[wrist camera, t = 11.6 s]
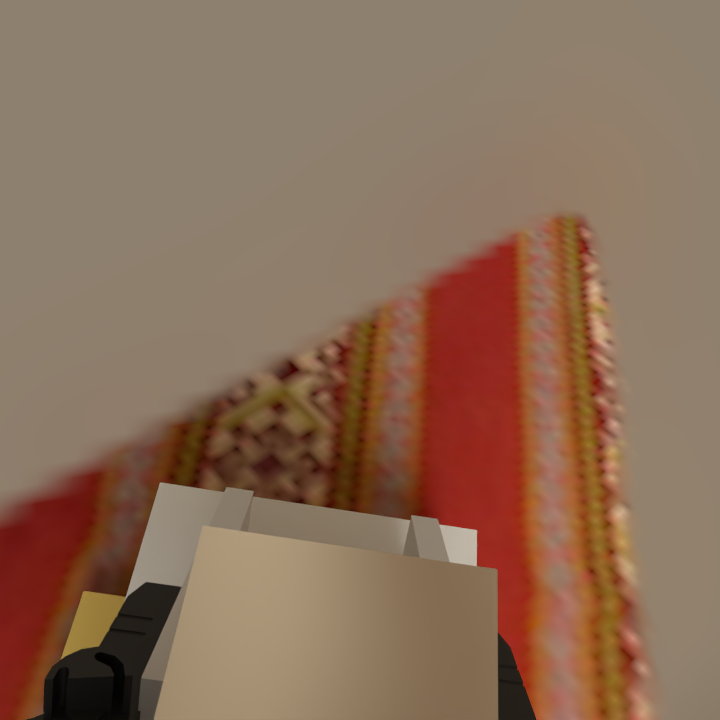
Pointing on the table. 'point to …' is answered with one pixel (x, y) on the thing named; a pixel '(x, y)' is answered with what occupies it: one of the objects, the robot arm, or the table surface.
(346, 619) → the beech peg
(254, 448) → the table surface
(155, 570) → the socket block
